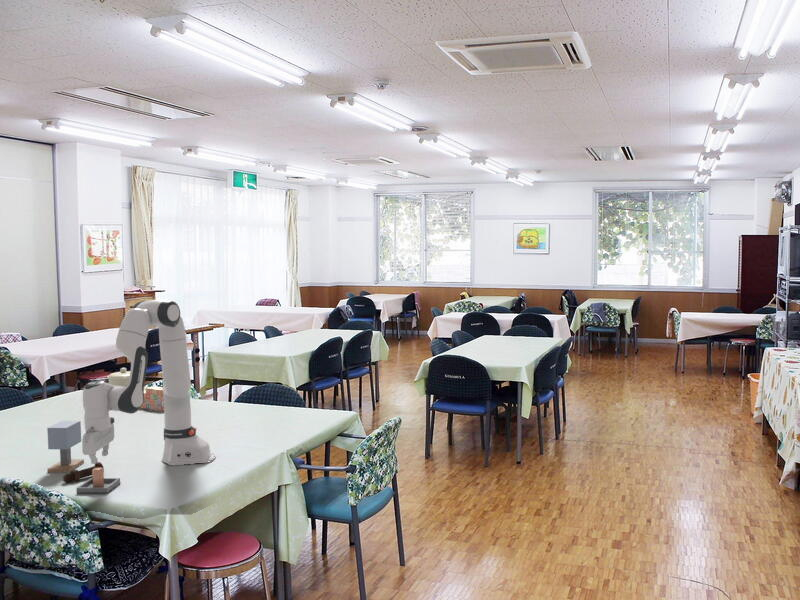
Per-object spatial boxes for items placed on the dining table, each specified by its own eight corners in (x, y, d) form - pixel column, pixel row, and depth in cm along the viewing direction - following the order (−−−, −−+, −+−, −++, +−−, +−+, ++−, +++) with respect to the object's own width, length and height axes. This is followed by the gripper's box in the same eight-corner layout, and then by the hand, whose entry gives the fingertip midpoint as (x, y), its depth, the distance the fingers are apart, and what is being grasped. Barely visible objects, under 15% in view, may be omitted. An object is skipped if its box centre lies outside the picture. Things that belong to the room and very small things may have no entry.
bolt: (63, 487, 283) (100, 477, 294) (68, 484, 279) (105, 473, 291) (59, 474, 284) (96, 463, 295) (64, 470, 281) (101, 459, 292)
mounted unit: (83, 462, 308) (82, 420, 307) (69, 472, 296) (67, 428, 294) (62, 462, 309) (60, 420, 307) (46, 472, 296) (44, 428, 294)
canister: (134, 398, 440) (133, 364, 439) (145, 402, 427) (144, 367, 425) (104, 402, 429) (102, 367, 427) (114, 407, 415) (112, 371, 413)
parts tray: (120, 483, 281) (120, 478, 281) (107, 493, 269) (106, 488, 269) (91, 483, 281) (90, 478, 281) (76, 493, 270) (76, 488, 270)
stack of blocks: (134, 407, 415) (133, 386, 414) (143, 405, 420) (142, 384, 420) (161, 411, 405) (161, 389, 404) (170, 409, 411) (169, 387, 410)
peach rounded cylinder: (106, 485, 277) (105, 467, 277) (101, 488, 273) (100, 470, 273) (95, 485, 277) (95, 467, 277) (91, 488, 274) (90, 470, 273)
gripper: (93, 431, 263) (96, 467, 264) (116, 417, 283) (118, 451, 285) (76, 431, 263) (79, 468, 264) (100, 417, 284) (103, 451, 285)
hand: (99, 459), depth 275 cm, fingers open, 8 cm apart
